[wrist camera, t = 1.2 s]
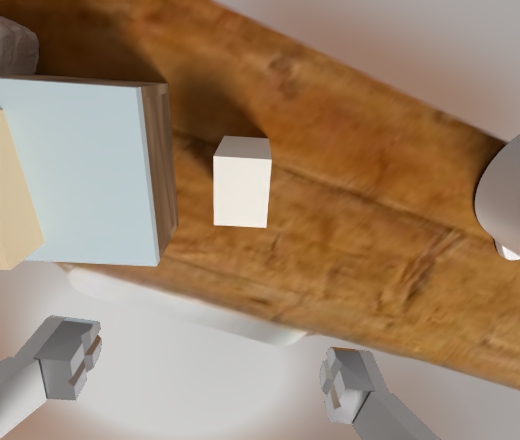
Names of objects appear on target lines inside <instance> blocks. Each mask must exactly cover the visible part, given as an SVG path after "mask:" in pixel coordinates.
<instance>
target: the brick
mask: <svg viewBox="0 0 520 440" xmlns="http://www.w3.org/2000/svg"><path fill="white" fill-rule="evenodd" d="M38 59H39V41H38V38H37V36H36V34H35V33H34V32H32V31H31V30H30V29H29V28H27V27H25V26H22V25H20V24H18V23H16V22H15V21H12V20H9V19H7V18H4V17H2V16H0V75H26V74H34V73H35V72H36V65H37V63H38Z"/></svg>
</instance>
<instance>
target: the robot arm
mask: <svg viewBox="0 0 520 440" xmlns="http://www.w3.org/2000/svg"><path fill="white" fill-rule="evenodd" d="M475 211H476V216H477V219H478V221H479V223H480V225H481V226H482V227H483V228H484V230H485V231H487V232H488V233H489V234H490V235H491V236H492V237H493V238H494V240H495V244H496V248H497V251H498V253H499V254H500V255H501V256H503V257H504V258H506V259H508V260H519V259H520V135H518V136H517V137H516V138H514V139H513V140H512V141H511V142H509V143H508V144H507V145H506V146H505V147H504V148H503V149H502V150H501V151H500V152H499V153H498V154H497V155H496V156H495V158H494V159H493V160H492V161H491V163H490V164H489V166H488V167H487V169H486V170H485V172H484V174H483V176H482V178H481V180H480V182H479V185H478V188H477V192H476V197H475ZM100 329H101V328H100V322H98V321H91V320H84V319H77V318H69V317H61V316H53V315H52V316H50V317H48V318H47V319H46V320H45V321H44V322H43V323H42V325H40V327H39V328H38V329H37V330H36V331H35V333H34V334H33V335H32V336H31V337H30V339H29V340H28V341H27V342H26V343H25V345H24V346H23V347H22V348H21V349H20V351H19V352H18V353H17V354H16V355H15V356H14V357H7V358H6V359H4V360H2V361H0V438H2V437H3V436H4V435H5V434H6V433H7V432H9V431H10V430H11V429H13V428H14V427H15V426H16V425H17V424H19V423H20V422H21V421H22V420H24V419H25V418H26V417H27V416H28V415H30V414H31V413H32V412H33V411H35V410H36V409H37V408H38V407H39V406H41V405H42V404H43V403H44V402H46V401H47V399H61V400H76V399H77V398H78V396H79V394H80V392H81V390H82V388H83V386H84V385H85V383H86V381H87V377H86V373H87V372H88V371H89V370H91V369H92V368H94V366H95V364H96V362H97V360H98V357H99V354H100V351H101V345H102V341H101V338H100V337H99V336H98V333H99V331H100ZM326 355H327V359H326V360H325V361H323V363H322V366H321V368H320V384H321V389H322V390H323V392H324V393H325V394H326V395H327V397H326V400H325V406H326V411H327V415H328V419H329V421H330V422H339V423H347V424H353V425H352V426H353V427H354V429H355V430H356V432H357V433H358V434H359V436H360V437H361V439H362V440H441V439H440V438H438V437H437V436H436V435H435V433H433V432H432V431H431V430H430V429H429V428H428V427H427V426H426V425H425V424H424V423H423V422H422V421H421V420H420V419H419V418H418V417H417V416H416V415H415V414H414V413H413V412H412V411H411V410H410V409H409V408H408V407H407V406H406V405H405V404H404V403H403V402H402V401H400V400H399V399H398V398H397V397H396V396H395V395H394V394H391V393H389V391H388V388H387V387H386V384H385V382H384V379H383V377H382V375H381V372H380V370H379V368H378V366H377V364H376V361H375V359H374V357H373V354H372V353H371V352H370V351H363V350H355V349H346V348H336V347H330V348H329V349H328V351H327V353H326Z"/></svg>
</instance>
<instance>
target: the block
mask: <svg viewBox="0 0 520 440" xmlns="http://www.w3.org/2000/svg"><path fill="white" fill-rule="evenodd" d="M213 162H214V225H226V226H245V227H264V228H266V223H267V210H268V198H269V186H270V174H271V162H272V159H271V152H270V145H269V139H268V138H253V137H237V136H224V137H223V139H222V141H221V143H220V145H219V147H218V148H217V150H216V152H215V154H214V156H213Z"/></svg>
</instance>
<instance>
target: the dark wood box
mask: <svg viewBox="0 0 520 440" xmlns="http://www.w3.org/2000/svg"><path fill="white" fill-rule="evenodd" d="M0 78H14V79H29V80H43V81H58V82H73V83H88V84H103V85H117V86H132V87H141V93H142V103H143V112H144V121H145V130H146V139H147V148H148V157H149V166H150V175H151V184H152V193H153V202H154V211H155V220H156V229H157V238H158V247H159V256H160V259H161V257H162V255H163V253H164V251H165V249H166V248H167V246H168V244H169V242H170V240H171V238H172V236H173V234H174V232H175V230H176V228H177V226H178V212H177V198H176V184H175V170H174V156H173V142H172V128H171V114H170V100H169V86H168V83H157V82H142V81H128V80H113V79H98V78H84V77H69V76H55V75H40V74H26V75H0Z"/></svg>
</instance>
